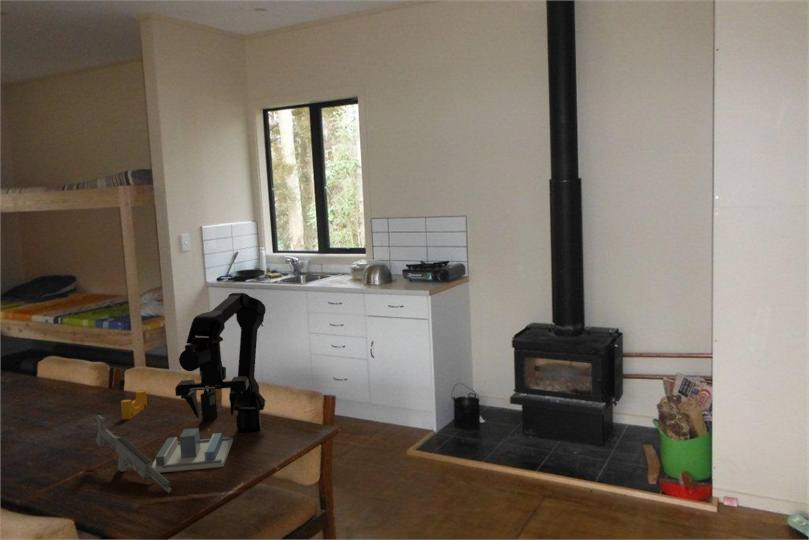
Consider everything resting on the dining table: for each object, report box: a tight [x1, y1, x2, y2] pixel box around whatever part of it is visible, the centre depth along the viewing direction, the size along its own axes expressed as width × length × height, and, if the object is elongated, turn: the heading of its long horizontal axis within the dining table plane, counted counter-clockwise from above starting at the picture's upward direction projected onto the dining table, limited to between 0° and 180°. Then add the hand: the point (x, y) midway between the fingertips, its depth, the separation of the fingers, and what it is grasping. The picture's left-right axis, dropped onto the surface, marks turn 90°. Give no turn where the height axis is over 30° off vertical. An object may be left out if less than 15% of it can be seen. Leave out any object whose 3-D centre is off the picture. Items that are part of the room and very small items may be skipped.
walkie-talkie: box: [200, 389, 218, 423], centre depth 209 cm, size 5×3×15 cm
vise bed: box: [152, 436, 234, 474], centre depth 180 cm, size 19×18×4 cm
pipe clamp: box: [120, 390, 148, 420], centre depth 219 cm, size 12×4×6 cm, turn 175°
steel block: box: [179, 427, 201, 458], centre depth 180 cm, size 4×6×6 cm, turn 7°
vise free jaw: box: [204, 432, 224, 461], centre depth 181 cm, size 2×14×2 cm, turn 7°
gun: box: [95, 414, 172, 494], centre depth 169 cm, size 36×4×10 cm, turn 50°
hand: (215, 416), depth 180 cm, fingers open, 9 cm apart
